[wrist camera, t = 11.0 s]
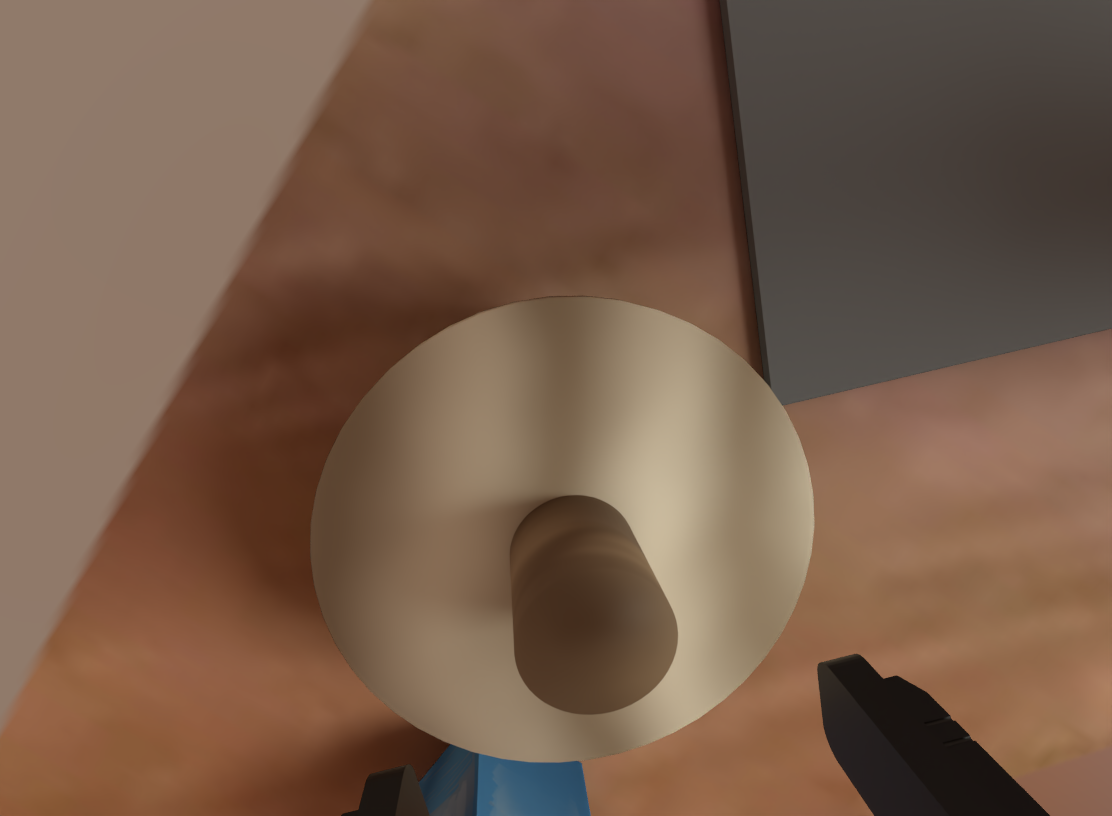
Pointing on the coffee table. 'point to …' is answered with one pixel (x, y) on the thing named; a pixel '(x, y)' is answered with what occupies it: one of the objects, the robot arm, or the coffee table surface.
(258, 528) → the coffee table surface
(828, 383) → the mat
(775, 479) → the lid
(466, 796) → the perfume bottle
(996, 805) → the robot arm
